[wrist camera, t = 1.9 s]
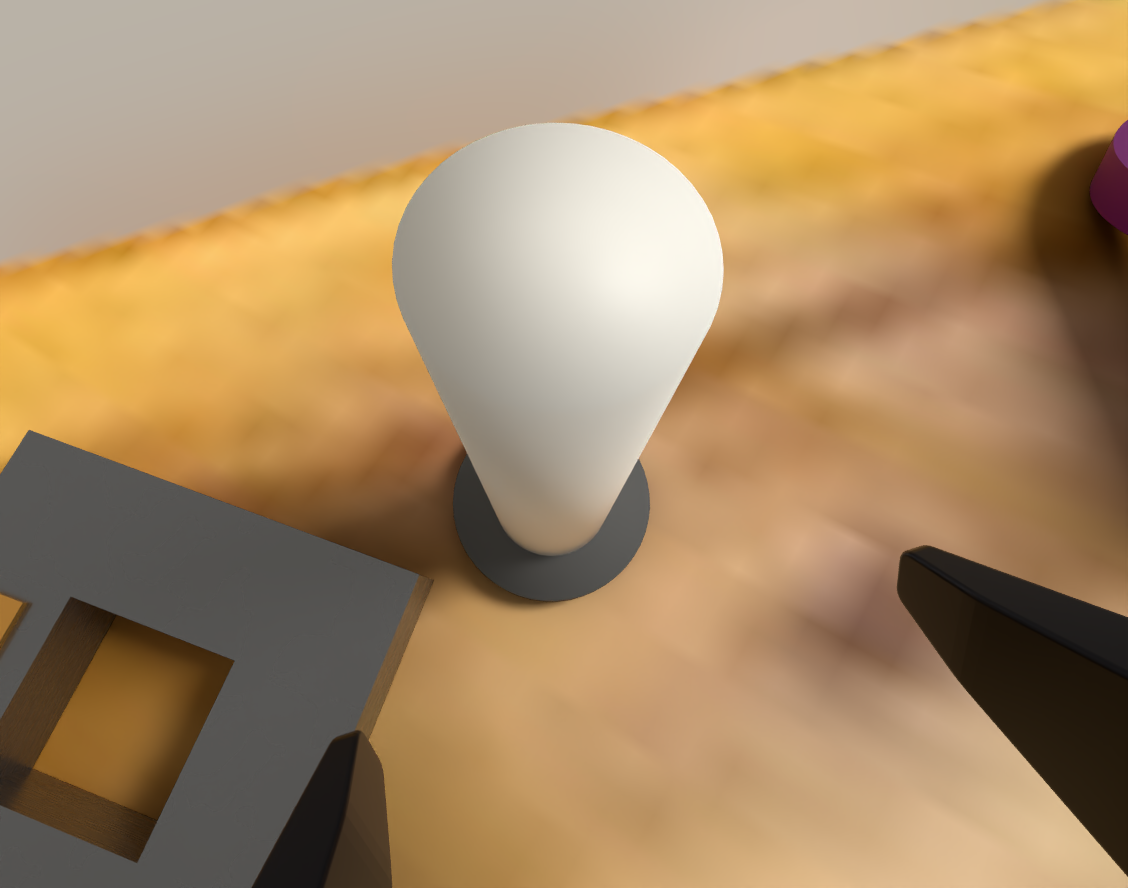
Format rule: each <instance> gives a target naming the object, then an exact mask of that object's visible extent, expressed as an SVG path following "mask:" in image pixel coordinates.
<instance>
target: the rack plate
mask: <svg viewBox="0 0 1128 888" xmlns="http://www.w3.org/2000/svg"><path fill="white" fill-rule="evenodd" d="M433 581H434V580H432V579H430V578H427V577H424V576H422V575H419V574H417V573H414V572H411V571H408V570H406V569H403V568H400V567H398V566H395V565H392V564H390V563H387V562H384V561H381V560H379V559H376V558H373V557H371V556H368V555H365V554H363V553H360V552H357V551H354V550H352V549H349V548H346V547H344V546H341V545H338V544H336V543H333V542H330V541H327V540H325V539H322V538H319V537H317V536H314V535H311V534H309V533H306V532H303V531H300V530H298V529H295V528H292V527H290V526H287V525H284V524H282V523H279V522H276V521H273V520H271V519H268V518H265V517H263V516H260V515H257V514H255V513H252V512H249V511H247V510H244V509H241V508H238V507H236V506H233V505H230V504H228V503H225V502H222V501H220V500H217V499H214V498H211V497H209V496H206V495H203V494H201V493H198V492H195V491H193V490H190V489H187V488H184V487H182V486H179V485H176V484H174V483H171V482H168V481H166V480H163V479H160V478H157V477H155V476H152V475H149V474H147V473H144V472H141V471H139V470H136V469H133V468H130V467H128V466H125V465H122V464H120V463H117V462H114V461H112V460H109V459H106V458H103V457H101V456H98V455H95V454H93V453H90V452H87V451H85V450H82V449H79V448H76V447H74V446H71V445H68V444H66V443H63V442H60V441H58V440H55V439H52V438H49V437H47V436H44V435H41V434H39V433H36V432H33V431H31V430H29V431H28V432H27V434H26V435H25V437H24V438H23V440H22V442H21V443H20V445H19V446H18V448H17V449H16V451H15V452H14V454H13V456H12V457H11V459H10V460H9V462H8V463H7V465H6V466H5V468H4V470H3V471H2V473H1V474H0V888H251V887H252V885H253V884H254V882H255V880H256V878H257V876H258V874H259V873H260V871H261V869H262V867H263V865H264V863H265V861H266V860H267V858H268V856H269V854H270V852H271V850H272V849H273V847H274V845H275V843H276V841H277V839H278V838H279V836H280V834H281V832H282V830H283V828H284V827H285V825H286V823H287V821H288V819H289V817H290V816H291V814H292V812H293V810H294V808H295V806H296V804H297V803H298V801H299V799H300V797H301V795H302V793H303V792H304V790H305V788H306V786H307V784H308V782H309V781H310V779H311V777H312V775H313V773H314V771H315V770H316V768H317V766H318V764H319V762H320V760H321V759H322V757H323V755H324V753H325V751H326V749H327V747H328V746H329V744H330V742H331V741H332V740H333V739H334V738H335V737H337V736H340V735H343V734H346V733H349V732H352V731H355V730H361V731H362V732H363V733H364V734H365V735H366V737H367V739H368V740H369V737H370V735H371V733H372V730H373V728H374V725H375V723H376V720H377V718H378V715H379V713H380V711H381V708H382V706H383V703H384V701H385V698H386V696H387V693H388V691H389V688H390V686H391V684H392V681H393V679H394V676H395V674H396V671H397V669H398V666H399V664H400V661H401V659H402V657H403V654H404V652H405V649H406V647H407V644H408V642H409V639H410V637H411V635H412V632H413V630H414V627H415V625H416V622H417V620H418V617H419V615H420V612H421V610H422V608H423V605H424V603H425V600H426V598H427V595H428V593H429V590H430V588H431V585H432V583H433ZM116 614H117V615H119V616H122V617H124V618H127V619H129V620H132V621H135V622H137V623H140V624H142V625H145V626H147V627H150V628H153V629H155V630H158V631H160V632H163V633H165V634H168V635H170V636H173V637H176V638H178V639H181V640H183V641H186V642H188V643H191V644H193V645H196V646H199V647H201V648H204V649H206V650H209V651H211V652H214V653H217V654H219V655H222V656H224V657H227V658H229V659H232V660H234V663H233V666H232V668H231V670H230V672H229V674H228V676H227V678H226V680H225V682H224V684H223V686H222V688H221V690H220V693H219V695H218V697H217V699H216V701H215V703H214V705H213V707H212V709H211V711H210V713H209V715H208V717H207V719H206V722H205V724H204V726H203V728H202V730H201V732H200V734H199V736H198V738H197V740H196V742H195V744H194V746H193V748H192V751H191V753H190V755H189V757H188V759H187V761H186V763H185V765H184V767H183V769H182V771H181V773H180V775H179V778H178V780H177V782H176V784H175V786H174V788H173V790H172V792H171V794H170V796H169V798H168V800H167V802H166V804H165V807H164V809H163V811H162V813H161V815H160V817H159V819H158V821H157V820H155V819H152V818H150V817H147V816H145V815H143V814H140V813H138V812H135V811H133V810H131V809H128V808H126V807H123V806H121V805H119V804H116V803H114V802H111V801H109V800H106V799H104V798H102V797H99V796H97V795H94V794H92V793H90V792H87V791H85V790H82V789H80V788H78V787H75V786H73V785H70V784H68V783H66V782H63V781H61V780H58V779H56V778H54V777H51V776H49V775H46V774H44V773H42V772H39V771H37V770H34V769H32V768H33V766H34V764H35V762H36V760H37V759H38V757H39V755H40V753H41V751H42V750H43V748H44V746H45V744H46V742H47V740H48V739H49V737H50V735H51V733H52V731H53V729H54V728H55V726H56V724H57V722H58V720H59V718H60V717H61V715H62V713H63V711H64V709H65V707H66V706H67V704H68V702H69V700H70V698H71V696H72V695H73V693H74V691H75V689H76V687H77V686H78V684H79V682H80V680H81V678H82V676H83V675H84V673H85V671H86V669H87V667H88V665H89V664H90V662H91V660H92V658H93V656H94V654H95V653H96V651H97V649H98V647H99V645H100V643H101V642H102V640H103V638H104V636H105V634H106V633H107V631H108V629H109V627H110V625H111V623H112V622H113V620H114V618H115V616H116Z"/></svg>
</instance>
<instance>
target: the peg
mask: <svg viewBox="0 0 1128 888" xmlns="http://www.w3.org/2000/svg"><path fill="white" fill-rule="evenodd" d="M392 271H393V284H394V289H395V294H396V299H397V302H398V305H399V308H400V311H401V313H402V316H403V319H404V321H405V323H406V325H407V327H408V330H409V332H410V334H411V336H412V338H413V340H414V342H415V344H416V346H417V349H418V351H419V353H420V355H421V357H422V359H423V361H424V363H425V365H426V368H427V370H428V372H429V374H430V376H431V378H432V380H433V382H434V384H435V386H436V389H437V391H438V393H439V395H440V397H441V399H442V401H443V403H444V405H445V408H446V410H447V412H448V414H449V416H450V418H451V420H452V422H453V424H454V427H455V429H456V431H457V433H458V435H459V437H460V439H461V441H462V443H463V446H464V448H465V450H466V452H467V454H468V456H469V458H470V460H471V462H472V465H473V467H474V469H475V471H476V473H477V475H478V477H479V479H480V481H481V483H482V486H483V488H484V490H485V492H486V494H487V496H488V498H489V500H490V502H491V505H492V507H493V509H494V511H495V513H496V515H497V517H498V519H499V521H500V524H501V525H502V527H503V529H504V531H505V532H506V533H507V535H508V536H509V537H510V538H511V539H512V540H513V541H514V542H515V543H516V544H517V545H519V546H520V547H522V548H523V549H525V550H527V551H530V552H532V553H535V554H539V555H544V556H559V555H565V554H568V553H571V552H574V551H576V550H578V549H580V548H582V547H583V546H585V545H586V544H587V543H589V542H590V541H591V540H592V539H593V538H594V536H595V535H596V534H597V533H598V531H599V530H600V528H601V526H602V524H603V523H604V521H605V519H606V517H607V515H608V513H609V512H610V510H611V508H612V506H613V504H614V502H615V501H616V499H617V497H618V495H619V493H620V491H621V490H622V488H623V486H624V484H625V482H626V480H627V479H628V477H629V475H630V473H631V471H632V469H633V468H634V466H635V464H636V462H637V460H638V458H639V456H640V455H641V453H642V451H643V449H644V447H645V445H646V444H647V442H648V440H649V438H650V436H651V434H652V433H653V431H654V429H655V427H656V425H657V423H658V422H659V420H660V418H661V416H662V414H663V412H664V411H665V409H666V407H667V405H668V403H669V401H670V400H671V398H672V396H673V394H674V392H675V390H676V389H677V387H678V385H679V383H680V381H681V379H682V378H683V376H684V374H685V372H686V370H687V368H688V367H689V365H690V363H691V361H692V359H693V357H694V356H695V354H696V352H697V350H698V348H699V346H700V345H701V343H702V341H703V339H704V337H705V335H706V334H707V332H708V330H709V328H710V326H711V324H712V321H713V319H714V316H715V314H716V311H717V309H718V305H719V300H720V296H721V292H722V284H723V271H724V269H723V255H722V248H721V244H720V239H719V234H718V231H717V229H716V226H715V223H714V221H713V218H712V215H711V214H710V212H709V210H708V208H707V206H706V204H705V202H704V201H703V199H702V197H701V196H700V195H699V193H698V192H697V191H696V189H695V188H694V186H693V185H692V184H691V183H690V182H689V180H688V179H687V178H686V177H685V176H684V175H683V174H682V173H681V172H680V171H679V170H678V169H677V168H676V167H675V166H673V165H672V164H671V163H670V162H669V161H667V160H666V159H665V158H664V157H662V156H661V155H659V154H658V153H656V152H655V151H653V150H651V149H650V148H648V147H647V146H645V145H643V144H641V143H639V142H637V141H635V140H633V139H631V138H629V137H626V136H623V135H620V134H618V133H615V132H612V131H609V130H605V129H601V128H597V127H593V126H587V125H579V124H572V123H542V124H530V125H525V126H519V127H514V128H510V129H507V130H503V131H500V132H497V133H494V134H491V135H488V136H486V137H484V138H481V139H479V140H477V141H474V142H473V143H471V144H469V145H467V146H466V147H464V148H462V149H460V150H459V151H457V152H456V153H454V154H453V155H452V156H450V157H449V158H448V159H446V160H445V161H444V162H442V163H441V164H440V165H439V166H438V167H437V168H436V169H435V170H434V171H433V172H432V173H431V174H430V175H429V176H428V177H427V178H426V179H425V180H424V182H423V183H422V184H421V185H420V187H419V188H418V189H417V190H416V192H415V194H414V195H413V197H412V199H411V200H410V202H409V204H408V205H407V207H406V209H405V211H404V214H403V216H402V219H401V221H400V223H399V226H398V230H397V234H396V238H395V242H394V249H393V258H392Z"/></svg>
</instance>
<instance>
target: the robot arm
mask: <svg viewBox="0 0 1128 888" xmlns="http://www.w3.org/2000/svg"><path fill="white" fill-rule="evenodd" d="M897 592H898V595H899V598H900V600H901V602H902V603H903V605H904V606H905V607H906V609H907V610H908V612H909V613H910V614H911V616H912V617H913V619H914V620H915V621H916V623H917V624H918V626H919V627H920V628H921V630H922V631H923V633H924V634H925V635H926V637H927V638H928V640H929V641H930V642H931V644H932V645H933V647H934V648H935V649H936V651H937V652H938V654H939V655H940V657H941V658H942V659H943V661H944V662H945V664H946V665H947V666H948V668H949V669H950V670H951V672H952V673H953V674H954V676H955V677H956V678H957V680H958V681H959V682H960V683H961V685H962V686H963V687H964V688H965V689H966V691H967V692H968V693H969V694H970V695H971V697H972V698H973V699H974V700H975V701H976V702H977V703H978V705H979V706H980V707H981V708H982V709H983V710H984V712H985V713H986V714H987V715H988V716H989V717H990V718H991V720H992V721H993V722H994V723H995V724H996V725H997V727H998V728H999V729H1000V730H1001V731H1002V732H1003V733H1004V735H1005V736H1006V737H1007V738H1008V739H1009V740H1010V742H1011V743H1012V744H1013V745H1014V746H1015V747H1016V748H1017V750H1018V751H1019V752H1020V753H1021V754H1022V755H1023V757H1024V758H1025V759H1026V760H1027V761H1028V762H1029V763H1030V765H1031V766H1032V767H1033V768H1034V769H1035V770H1036V772H1037V773H1038V774H1039V775H1040V776H1041V777H1042V778H1043V780H1044V781H1045V782H1046V783H1047V784H1048V785H1049V787H1050V788H1051V789H1052V790H1053V791H1054V792H1055V793H1056V795H1057V796H1058V797H1059V798H1060V799H1061V800H1062V801H1063V803H1064V804H1065V805H1066V806H1067V807H1068V808H1069V810H1070V811H1071V812H1072V813H1073V814H1074V815H1075V816H1076V818H1077V819H1078V820H1079V821H1080V822H1081V823H1082V825H1083V826H1084V827H1085V828H1086V829H1087V830H1088V831H1089V833H1090V834H1091V835H1092V836H1093V837H1094V838H1095V840H1096V841H1097V842H1098V843H1099V844H1100V845H1101V846H1102V848H1103V849H1104V850H1105V851H1106V852H1107V853H1108V855H1109V856H1110V857H1111V858H1112V859H1113V860H1114V861H1115V863H1116V864H1117V865H1118V866H1119V867H1120V868H1121V870H1122V871H1123V872H1124V873H1125V874H1126V875H1127V876H1128V617H1125V616H1123V615H1120V614H1117V613H1114V612H1112V611H1109V610H1106V609H1103V608H1101V607H1098V606H1095V605H1092V604H1090V603H1087V602H1084V601H1081V600H1078V599H1076V598H1073V597H1070V596H1067V595H1065V594H1062V593H1059V592H1056V591H1054V590H1051V589H1048V588H1045V587H1043V586H1040V585H1037V584H1034V583H1032V582H1029V581H1026V580H1023V579H1021V578H1018V577H1015V576H1012V575H1009V574H1007V573H1004V572H1001V571H998V570H996V569H993V568H990V567H987V566H985V565H982V564H979V563H976V562H974V561H971V560H968V559H965V558H963V557H960V556H957V555H954V554H952V553H949V552H946V551H943V550H940V549H938V548H935V547H932V546H927V545H923V546H919V547H916V548H913V549H910V550H907V551H905V552H903V553H902V555H901V556H900V562H899V571H898V580H897ZM251 888H392V874H391V860H390V847H389V835H388V823H387V810H386V798H385V786H384V774H383V769H382V765H381V762H380V760H379V758H378V756H377V755H376V753H375V751H374V749H373V748H372V746H371V744H370V742H369V741H368V739H367V737H366V735H365V734H364V733H363V732H362V731H361V730H355V731H352V732H349V733H346V734H343V735H340V736H337V737H335V738H334V739H333V740H332V741H331V742H330V744H329V746H328V747H327V749H326V751H325V753H324V755H323V757H322V759H321V760H320V762H319V764H318V766H317V768H316V770H315V771H314V773H313V775H312V777H311V779H310V781H309V782H308V784H307V786H306V788H305V790H304V792H303V793H302V795H301V797H300V799H299V801H298V803H297V804H296V806H295V808H294V810H293V812H292V814H291V816H290V817H289V819H288V821H287V823H286V825H285V827H284V828H283V830H282V832H281V834H280V836H279V838H278V839H277V841H276V843H275V845H274V847H273V849H272V850H271V852H270V854H269V856H268V858H267V860H266V861H265V863H264V865H263V867H262V869H261V871H260V873H259V874H258V876H257V878H256V880H255V882H254V884H253V885H252V887H251Z"/></svg>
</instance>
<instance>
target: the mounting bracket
mask: <svg viewBox="0 0 1128 888" xmlns="http://www.w3.org/2000/svg"><path fill="white" fill-rule="evenodd" d="M1090 197H1091V200H1092V203H1093V205H1094V207H1095V208H1096V209H1097V211H1098V212H1099V213H1100V214H1101V216H1102V217H1103V218H1104V219H1105V220H1107V221H1108V222H1109V223H1110V224H1111V225H1113V226H1114V227H1116V228H1117V229H1119V230H1120V231H1122V232H1123V233H1125V234H1127V235H1128V120H1127V121H1126V122H1125V123H1123V124H1122V125H1121V127H1120V128H1119V129H1118V130H1117V132H1116V134H1115V136H1114V138H1113V140H1112V142H1111V144H1110V146H1109V148H1108V150H1107V152H1106V154H1105V156H1104V158H1103V160H1102V162H1101V164H1100V166H1099V168H1098V170H1097V172H1096V174H1095V176H1094V178H1093V180H1092V182H1091V185H1090Z"/></svg>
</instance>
